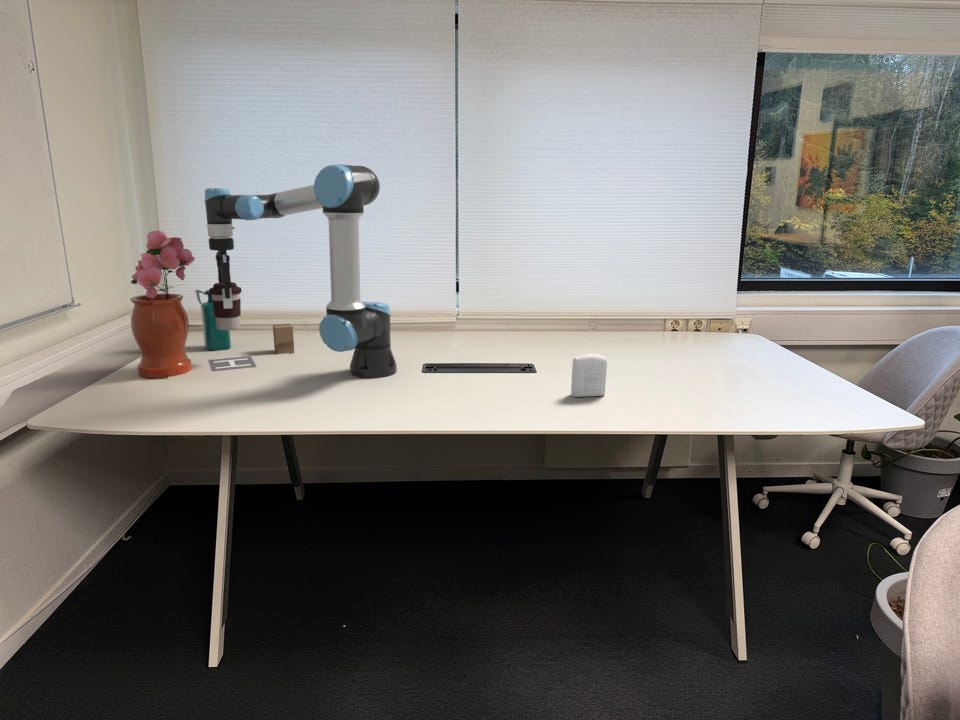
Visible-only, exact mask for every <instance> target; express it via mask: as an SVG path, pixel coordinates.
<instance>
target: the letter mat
mask: <svg viewBox="0 0 960 720" xmlns="http://www.w3.org/2000/svg"><path fill="white" fill-rule="evenodd" d="M208 363H209V367H210V370H211V372H218V371H221V372H222V371H231V370H240V369H248V368H250V369H251V368H257V364H256V362H255V361H254V359H253V358H252V356H251V355H248V356H247V355H246V356H245V355H244V356H237V357H226V358H225V357H224V358H217V359H215V358H213V359H208Z"/></svg>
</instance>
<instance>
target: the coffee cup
mask: <svg viewBox="0 0 960 720" xmlns="http://www.w3.org/2000/svg"><path fill="white" fill-rule="evenodd" d="M231 284H232V287H231V292H232V305H233V308H226V309H224V306H223V294H222V289H220V286H222V282H221V283H219V282H216V283H214V284H212V285H213V286H212V287H210V288H209V289H208V290H209V293H210V294H212V305H213V311H214V316H215V319H216V325H217V328H218V329H220V330H230V331H231V330H237V329H239V328H240V327H241V314H242V313H241V301H242V300H241V295H240V294H241V293H243V292H242V287H240V286H238V285H237V283H236V282H233V281H231Z"/></svg>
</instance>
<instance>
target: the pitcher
mask: <svg viewBox="0 0 960 720" xmlns="http://www.w3.org/2000/svg"><path fill="white" fill-rule="evenodd" d="M200 293H201V294H203V295H205V296H207V301H205V302H202V301H201V297H200ZM195 295H196V296H195V297H196V300H197V302H198V303H199V304H200V314H201V324H202V332H203V333H202V334H203V345H204V348H205V350H207V351H209V352H213V350H216V351H224V350H223V349H225V350H229V349H231V347H232V344H231V343H232V342H231V341H232V339H231V330H220V329H218V328H217V325H216V319H215V316H214V311H213V305H212V294H210V293H209V289H207V290H204V291H202V290H201V289H199V288H198V289H195Z"/></svg>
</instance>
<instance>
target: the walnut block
mask: <svg viewBox="0 0 960 720" xmlns="http://www.w3.org/2000/svg"><path fill="white" fill-rule="evenodd" d="M272 333H273V347H274V352H275V353H276V355H284V354H289V355H292V353H294V354H295V342H294V340H295V339H294V327H293V325H292V324H291V323H281V324H272Z"/></svg>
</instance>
